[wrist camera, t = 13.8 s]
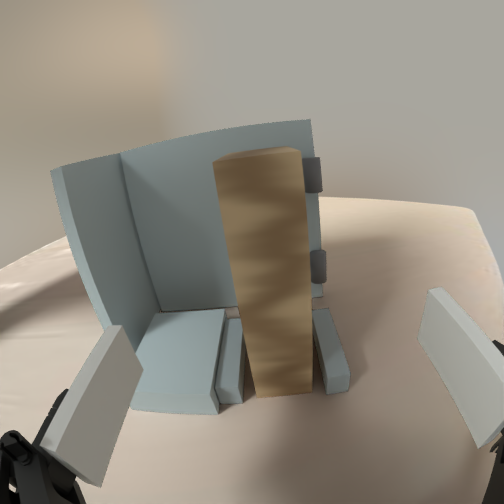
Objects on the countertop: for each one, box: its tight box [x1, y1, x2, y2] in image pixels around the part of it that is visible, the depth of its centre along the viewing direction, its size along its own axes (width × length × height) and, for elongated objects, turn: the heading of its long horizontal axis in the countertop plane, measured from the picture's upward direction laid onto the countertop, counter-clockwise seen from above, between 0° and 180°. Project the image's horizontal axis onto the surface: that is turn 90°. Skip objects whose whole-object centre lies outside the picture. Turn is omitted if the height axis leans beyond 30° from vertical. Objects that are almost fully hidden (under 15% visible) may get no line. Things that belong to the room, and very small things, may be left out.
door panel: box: [212, 146, 313, 398], centre depth 18 cm, size 4×7×16 cm, turn 179°
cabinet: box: [50, 119, 351, 415], centre depth 21 cm, size 20×16×18 cm
